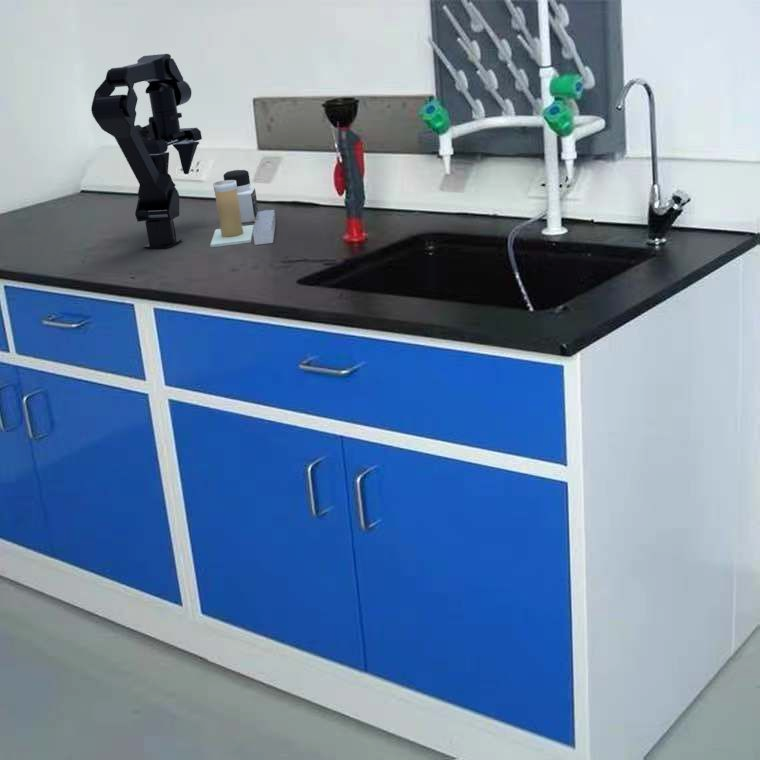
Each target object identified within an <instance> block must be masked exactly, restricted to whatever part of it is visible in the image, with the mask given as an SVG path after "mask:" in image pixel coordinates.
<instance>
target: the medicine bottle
mask: <svg viewBox="0 0 760 760" xmlns="http://www.w3.org/2000/svg"><path fill="white" fill-rule="evenodd" d="M249 173H250V172H249V171H248V170H245V169H233V170H228V171H226V172H225V173H223V181H225V180H236V184H237V193H238V200H239V207H240V214H241V220H242V224H244V223H245V224H246V223H247V224H248V223H253V222H254V223H255V220H256V215H257V212H259V208H258V207H259V206H258V201H257V194H256V193H257V192H256V188H255V186H251V181H250V174H249Z"/></svg>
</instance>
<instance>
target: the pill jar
mask: <svg viewBox="0 0 760 760" xmlns="http://www.w3.org/2000/svg"><path fill="white" fill-rule="evenodd" d="M212 185H213V192H214V196H215V203H216V210H217V217H218V222H219V229H221V236H222V237H235V236H239V235H242V234H243V227H242V226H243V223H242V220H241V214H240V207H239V200H238V193H237V184H236V180H225V181H224V180H220V181H216V182H214V183H212Z"/></svg>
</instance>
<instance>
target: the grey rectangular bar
mask: <svg viewBox="0 0 760 760" xmlns="http://www.w3.org/2000/svg"><path fill="white" fill-rule="evenodd" d="M276 223H277V222H276V214H275V209H267V208H265V209H264V210H261V211H259V210H258V212H257V215H256V220H255V222H254V224H253V225H254V229H253V236H252V237H253V241H254V246H257V245H259V246H260V245H265V244H273V243H274V237H275V232H276V231H275V230H276V225H277V224H276Z"/></svg>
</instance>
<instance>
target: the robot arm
mask: <svg viewBox="0 0 760 760" xmlns="http://www.w3.org/2000/svg"><path fill="white" fill-rule="evenodd" d="M171 57H172V55H171V54H169V53H161V54H160V53H159V54H150V55H143V56H141V57H140V58H138V59H137V60H136V61H137V63H133V64H128V65H125V66H122V67H121V66H120V67H112V68H110V69H108V70H107V72H106V75H105V79H104V80H103V82H102V83H101V84H100V85H99V86H98V87H97V88H96V90H95V92H94V95H93V99H92V102H91V103H92V104H91V110H90V111H91V115H92V117H93V119H94V120H95V122H96V123H97V124H98V125H99V126H98V127H100V128H101V130H102V131H104V132H106V133H107V134H109V135H110V136H112V137H113V138H114V139H115V141H116V143H117V145H118V147H119V148H120V151H121V152H122V154H123V156H124V158H125V160H126V162H127V164H128V165H129V167H130V169H131V171H132V173H133V175H134V177H135V179H136V180H137V183H138V184H139V187H138V191H137V197H138V199H137V204H136V208H135V213H134V215H135V218H136V220H137V222H140V223H141V222H145V223H144V224H145V228H146V235H147V241H148V243H147V244H146V245H144V246H143V248H144V249H168V248H169V249H170V247H172V246H175V245H177V244H180V243H181V242H183V240H182V239H181V238H177V235H176V234H177V233H176V229H175V223H174V222H175V221H174V219H176V218H177V217H179V216H180V194H179V191H178V190H177V188H176V184H175V183H174V180H172V177H171V174H170V173H169V161H170V152H169V151H168V148H169V146H171V145H172V147H173V148H174V149H175V150H176V151H177V152H178V156H179V161H180V164H181V165H180V166H181V169H182V171H183V174H184V175H188V174H190V170H191V166H192V162H193V160H194V156H195V153H196V151H197V149H198V145H200V140H203V137H202V132H201V130H200V129H199V128H198V127H187V128H186V127H185V128H184V127H183V128H181V126H180V121H179V119H180V118H183V117H182V116H183V114H182V112H178V106H181V105H184V104H186V103H189V101H190V100H191V97H192V89H191V87H190V85H189V83H188V82H187V81H185V80H184V77H183V75H182V72H181V71H180V69H179V68H178V65H177V63H176V61H175V60H174V58H171ZM141 82H147V84H148V85H147V87H146V88H145V94H147V95H148V96H149V101H150V108H151V114H152V116H149V117H148V124H147V125H143V126H141V125H140V124H137V125H135V124H136V123H135V122H136V117H137V111H136V108H137V104H138V96H137V93H136V90H135V88H134V87H135V84H137V83H141ZM119 87H120V88H121V87H127V88H128V89H127V94H114V95H112V93H113V92H114V91H115V90H116V88H119ZM167 151H168V152H167Z"/></svg>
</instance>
